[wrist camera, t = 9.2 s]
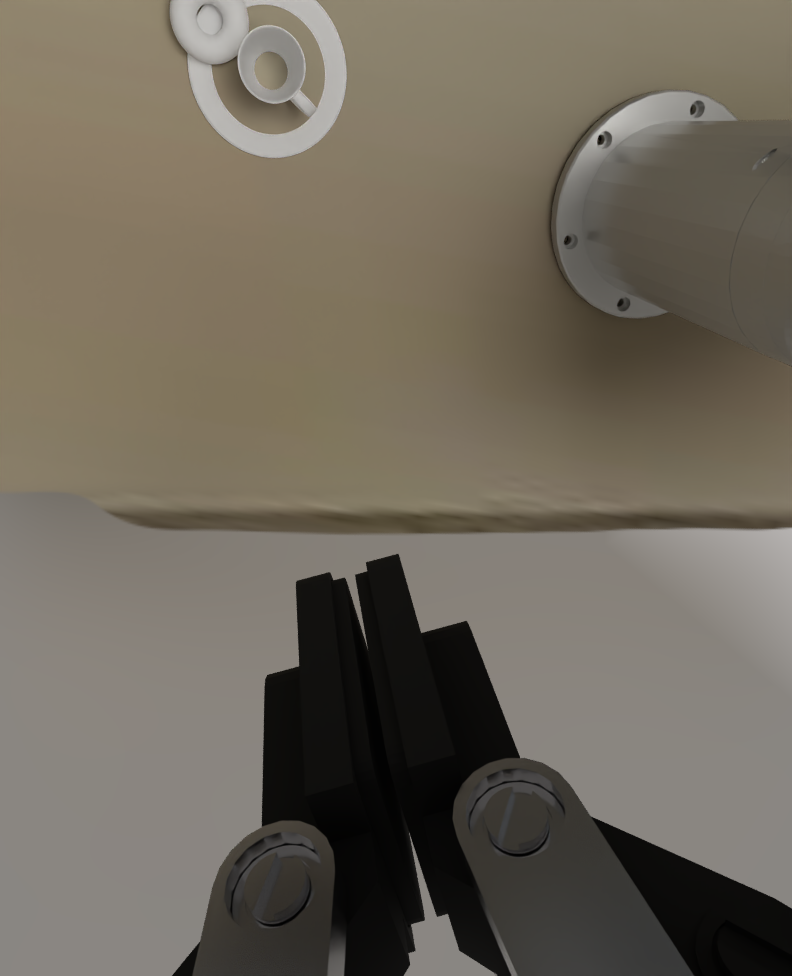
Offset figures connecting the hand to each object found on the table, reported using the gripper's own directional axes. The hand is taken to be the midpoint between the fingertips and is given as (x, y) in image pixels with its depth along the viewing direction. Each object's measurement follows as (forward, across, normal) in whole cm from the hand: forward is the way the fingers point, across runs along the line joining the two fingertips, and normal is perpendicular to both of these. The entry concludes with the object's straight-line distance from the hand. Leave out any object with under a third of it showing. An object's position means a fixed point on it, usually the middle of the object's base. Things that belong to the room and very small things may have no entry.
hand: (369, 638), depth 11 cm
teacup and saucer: (+34, -2, -13) cm, 36 cm away
